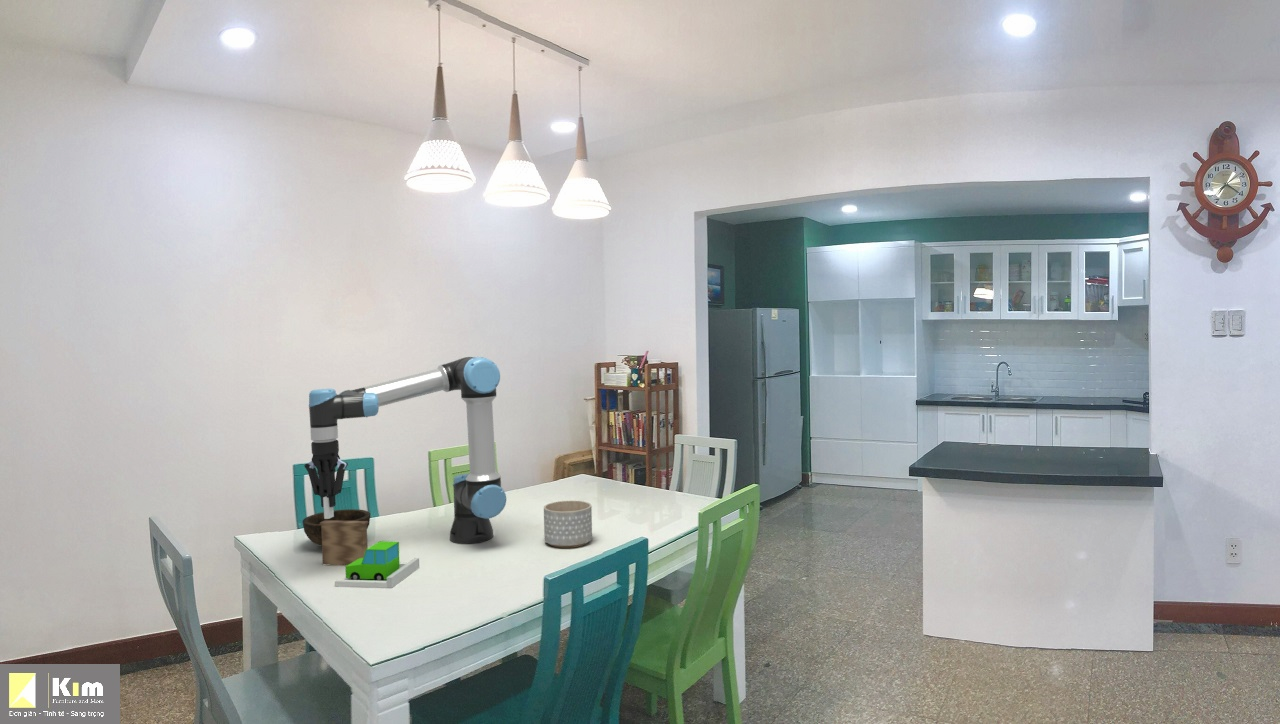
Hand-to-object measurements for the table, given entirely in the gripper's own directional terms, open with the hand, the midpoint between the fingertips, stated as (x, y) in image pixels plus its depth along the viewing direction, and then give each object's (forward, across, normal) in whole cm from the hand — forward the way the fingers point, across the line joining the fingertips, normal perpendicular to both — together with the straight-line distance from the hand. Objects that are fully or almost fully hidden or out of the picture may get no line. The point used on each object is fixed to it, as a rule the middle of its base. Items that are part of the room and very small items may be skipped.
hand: (329, 517), depth 216 cm
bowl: (+18, +16, -30) cm, 38 cm away
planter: (+19, -64, -38) cm, 77 cm away
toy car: (+18, -14, +2) cm, 23 cm away
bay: (+18, -14, 0) cm, 23 cm away
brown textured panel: (+18, +2, -10) cm, 20 cm away
